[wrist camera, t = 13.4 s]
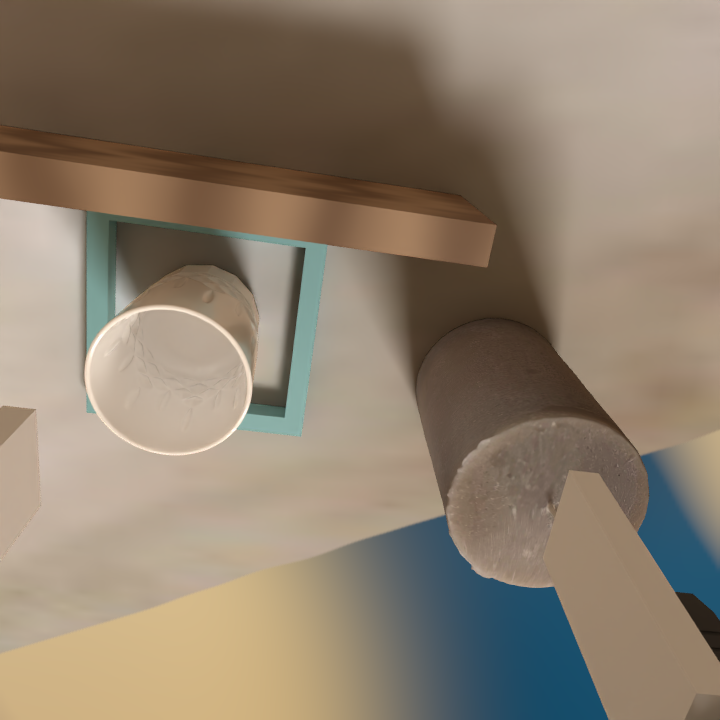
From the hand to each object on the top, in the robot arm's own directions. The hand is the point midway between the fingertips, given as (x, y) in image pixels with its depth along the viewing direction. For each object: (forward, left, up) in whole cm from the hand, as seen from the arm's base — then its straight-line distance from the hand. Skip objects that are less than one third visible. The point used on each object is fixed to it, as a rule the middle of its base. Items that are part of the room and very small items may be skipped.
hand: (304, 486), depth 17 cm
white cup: (+8, 0, -25) cm, 27 cm away
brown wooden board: (+2, -7, -25) cm, 26 cm away
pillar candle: (-5, +13, -25) cm, 29 cm away
